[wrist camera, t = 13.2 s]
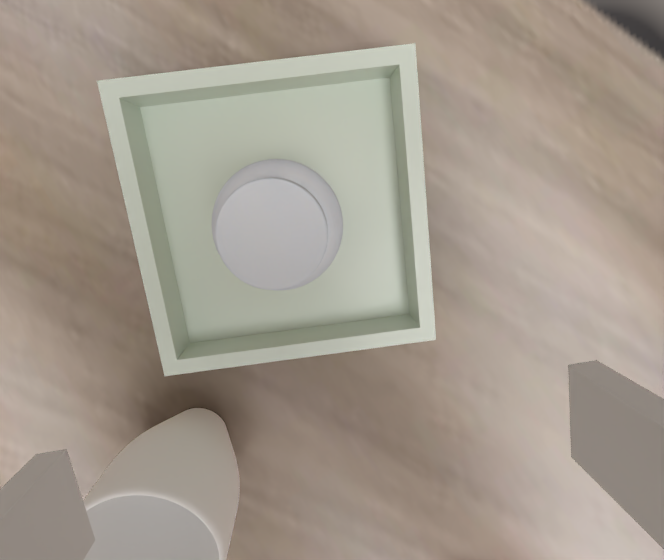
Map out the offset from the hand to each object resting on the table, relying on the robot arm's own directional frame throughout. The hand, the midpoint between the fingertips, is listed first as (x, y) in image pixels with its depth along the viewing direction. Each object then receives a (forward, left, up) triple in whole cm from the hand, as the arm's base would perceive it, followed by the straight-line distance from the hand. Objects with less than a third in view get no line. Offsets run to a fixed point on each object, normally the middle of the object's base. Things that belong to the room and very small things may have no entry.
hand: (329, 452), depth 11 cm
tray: (-2, +5, -20) cm, 21 cm away
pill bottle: (-1, +5, -19) cm, 20 cm away
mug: (-12, -12, -20) cm, 26 cm away
